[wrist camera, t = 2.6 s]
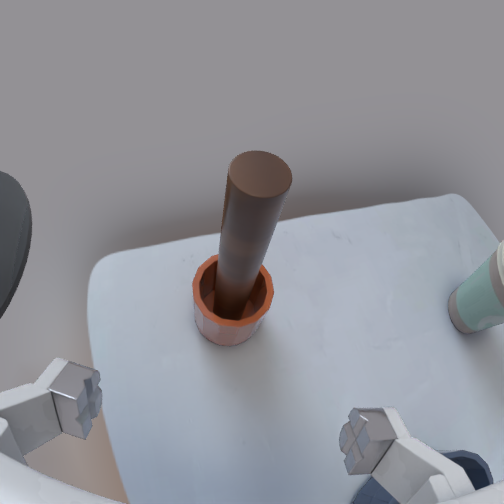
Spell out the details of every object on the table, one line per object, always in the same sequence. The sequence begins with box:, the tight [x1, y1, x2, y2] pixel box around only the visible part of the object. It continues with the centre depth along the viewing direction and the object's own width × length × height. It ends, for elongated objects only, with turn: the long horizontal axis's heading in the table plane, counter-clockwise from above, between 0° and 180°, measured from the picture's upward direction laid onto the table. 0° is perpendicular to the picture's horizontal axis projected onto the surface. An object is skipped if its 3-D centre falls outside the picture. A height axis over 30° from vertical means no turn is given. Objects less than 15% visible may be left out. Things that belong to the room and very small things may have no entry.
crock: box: [192, 254, 274, 346], centre depth 26 cm, size 6×6×6 cm
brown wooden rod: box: [213, 151, 292, 321], centre depth 21 cm, size 3×3×18 cm
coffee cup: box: [448, 240, 504, 334], centre depth 27 cm, size 9×8×12 cm
